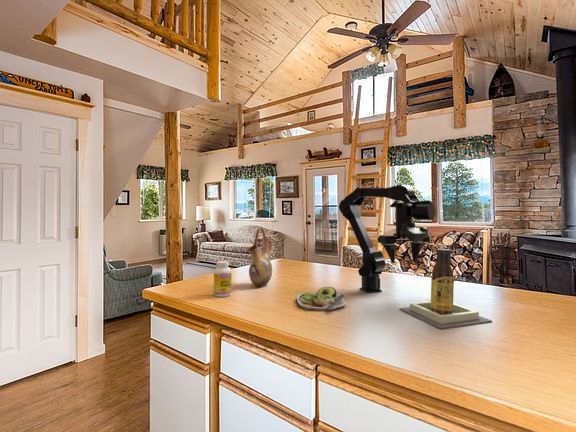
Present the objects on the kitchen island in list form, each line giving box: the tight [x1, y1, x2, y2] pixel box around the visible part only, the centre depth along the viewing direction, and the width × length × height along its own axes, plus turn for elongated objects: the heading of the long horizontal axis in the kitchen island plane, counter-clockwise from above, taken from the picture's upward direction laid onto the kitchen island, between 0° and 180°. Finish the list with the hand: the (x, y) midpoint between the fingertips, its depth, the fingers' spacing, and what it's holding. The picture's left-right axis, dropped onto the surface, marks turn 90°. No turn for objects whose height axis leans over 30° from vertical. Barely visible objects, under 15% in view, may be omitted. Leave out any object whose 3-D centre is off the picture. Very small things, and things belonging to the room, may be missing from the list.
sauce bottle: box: [430, 248, 455, 315], centre depth 98 cm, size 7×6×20 cm
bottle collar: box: [409, 300, 480, 324], centre depth 98 cm, size 13×13×2 cm
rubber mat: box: [399, 306, 493, 330], centre depth 98 cm, size 18×18×1 cm
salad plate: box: [295, 286, 347, 311], centre depth 110 cm, size 19×18×5 cm
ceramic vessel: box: [247, 227, 273, 288], centre depth 137 cm, size 16×9×25 cm, turn 153°
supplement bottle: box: [213, 260, 233, 298], centre depth 123 cm, size 7×7×13 cm
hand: (404, 262), depth 117 cm, fingers open, 9 cm apart
